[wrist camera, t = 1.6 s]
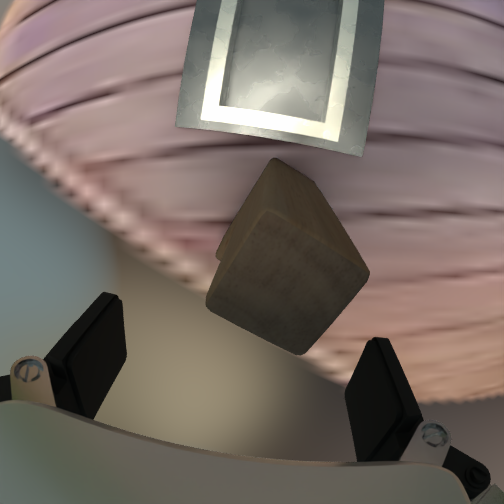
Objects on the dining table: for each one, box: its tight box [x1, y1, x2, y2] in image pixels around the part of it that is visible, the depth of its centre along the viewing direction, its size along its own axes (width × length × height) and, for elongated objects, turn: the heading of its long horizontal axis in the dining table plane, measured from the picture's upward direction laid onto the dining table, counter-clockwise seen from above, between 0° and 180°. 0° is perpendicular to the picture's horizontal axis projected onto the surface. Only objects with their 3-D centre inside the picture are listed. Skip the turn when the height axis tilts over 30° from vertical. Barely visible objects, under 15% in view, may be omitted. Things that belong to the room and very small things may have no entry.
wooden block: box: [206, 158, 370, 355], centre depth 20 cm, size 9×4×18 cm, turn 149°
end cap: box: [175, 0, 384, 157], centre depth 21 cm, size 16×17×4 cm
